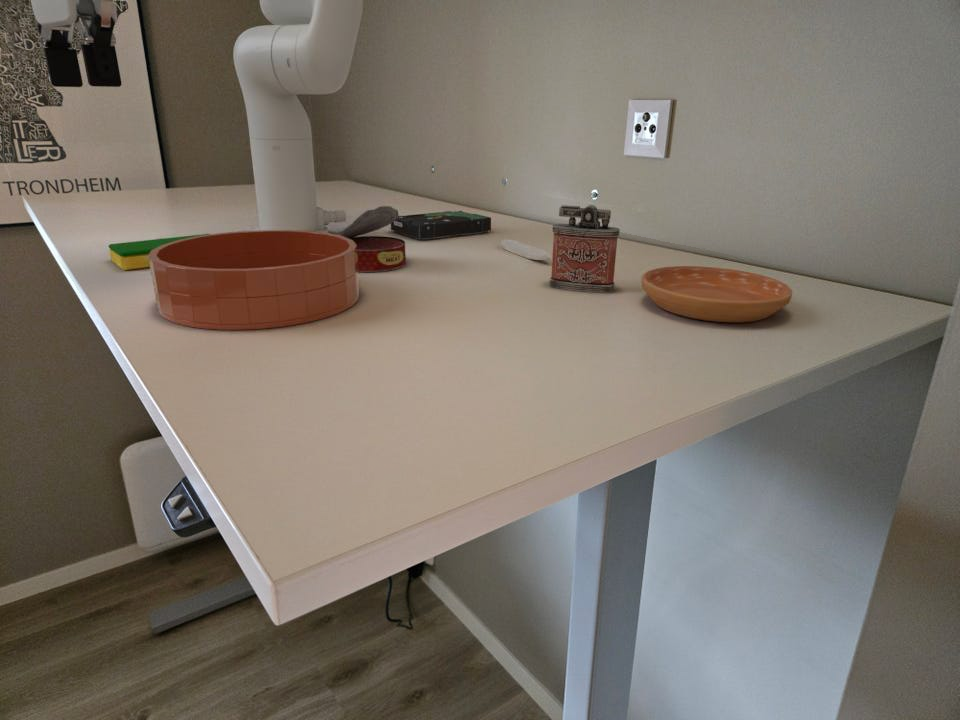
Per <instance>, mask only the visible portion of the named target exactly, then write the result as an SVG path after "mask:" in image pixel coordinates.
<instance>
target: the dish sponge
mask: <svg viewBox="0 0 960 720" xmlns="http://www.w3.org/2000/svg"><path fill="white" fill-rule="evenodd" d="M210 234H211V233H202V234H193V235H184V236H183V235H182V236H174V237H164V238H155V239H147V240H137V241H128V242H119V243H118V242H117V243H110V244H108V251H109V255H110V260H111V262H112V263H114V264H115V265H116V266H118V267H119V268H120V269H121V270H124V271H130V270H139V269H145V268H150V264H149V258H148V255H149V254H150V252H151V250H153V249H155V248H157V247H159V246H161V245H164V244H167V243H170V242H174V241H177V240H181V239H186V238H191V237H196V236H202V235H210Z"/></svg>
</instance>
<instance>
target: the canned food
mask: <svg viewBox="0 0 960 720" xmlns="http://www.w3.org/2000/svg"><path fill="white" fill-rule="evenodd" d="M398 216H400V214H399V210H398V209H396V208H394V207H392V206H390V205H383V206H378V207H376V208H374V209H367V210H365V211H364V212H363V213H362V214H360V215H359V216H358V217H356V219H355V220H354V221H353V222H352V223H351V224H349V225H348V226H346V227H345V228H344V229H343V230H342V231H340V233H338V234H337V235H340V236H344V237H346V238H349V239H351V240H353V241H354V242H355V244H356V245H357V257H358V273H380V272H389V271H394V270H398V269H401V268H403V267H404V266H406V264H407V262H406V259H407V257H406V256H407V255H406V241H405V240H404V239H402V238H398V237H394V236H384V235H367V234H369V233H373V232H375V231H378V230H381V229H383V228H386V227H387V226H390V225H391V223H392V222H394V221H395V220H396V219H397V218H398Z"/></svg>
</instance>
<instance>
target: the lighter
mask: <svg viewBox="0 0 960 720" xmlns="http://www.w3.org/2000/svg"><path fill="white" fill-rule="evenodd" d="M558 210H559V211H558V216H559V217H563V218H569V219H568V223H554V224H552V233H553V239H552V240H553V241H552V242H553V243H552V257H551V260H552V261H551V275H550V277H549V287H551V288H557V289H561V290H562V289H563V290H568V291H578V292H589V293H612V292H615V285H616V284H615V283H616V282H614V278H615V267H616V257H617V246H618V238H619V236H620V231H621V229H620V228H619V227H616V226H615V227H614V226H609V224H610V221H611V215H612V209H604V208H603V209H601V208H598V207H597V206H595V205H594V204H589V205H587V206H586V207H581V206H580V205H569V204H568V205H566V204H565V205H564V204H562V205H561V206H559V209H558ZM576 218H578V219H580V221H579V222H577V219H576ZM600 220H601V222H600ZM576 222H577V223H578V224H577V223H576Z"/></svg>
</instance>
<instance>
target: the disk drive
mask: <svg viewBox="0 0 960 720" xmlns="http://www.w3.org/2000/svg"><path fill="white" fill-rule="evenodd" d="M390 231H393V232H395V233H397V234H400V235H403V236H406V237H409V238H413V239H417V240H433V239H445V238H446V239H447V238H450V237H456V236H469V235H477V234H478V235H479V234H482V233H488V232H491V231H492V217H490V216H486V215H482V214H478V213H471V212H465V211H463V210H458V211H457V210H454V211H453V210H452V211H451V210H449V211H448V210H447V211H446V210H445V211H439V212H438V211H437V212H428V213H417V214H408V215H407V214H405V215H399V216H398V218H397V219H396V220H395V221H394V222H392V223H391V224H390Z"/></svg>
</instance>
